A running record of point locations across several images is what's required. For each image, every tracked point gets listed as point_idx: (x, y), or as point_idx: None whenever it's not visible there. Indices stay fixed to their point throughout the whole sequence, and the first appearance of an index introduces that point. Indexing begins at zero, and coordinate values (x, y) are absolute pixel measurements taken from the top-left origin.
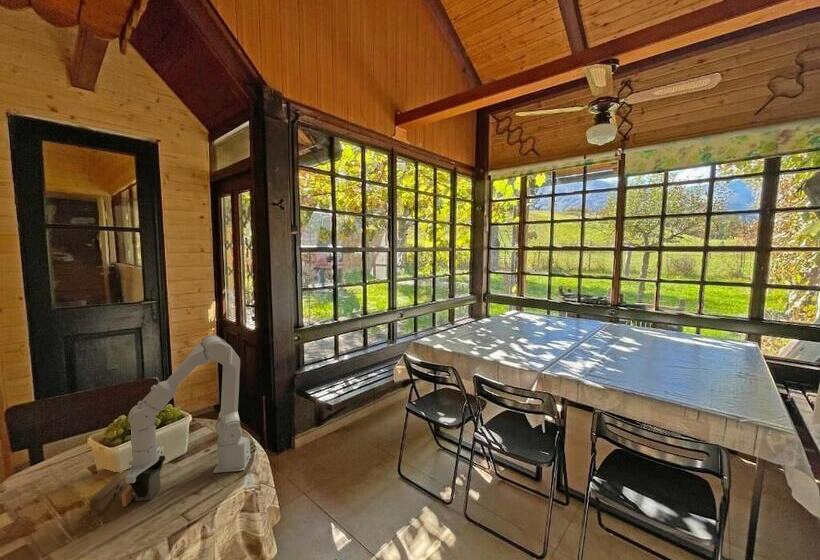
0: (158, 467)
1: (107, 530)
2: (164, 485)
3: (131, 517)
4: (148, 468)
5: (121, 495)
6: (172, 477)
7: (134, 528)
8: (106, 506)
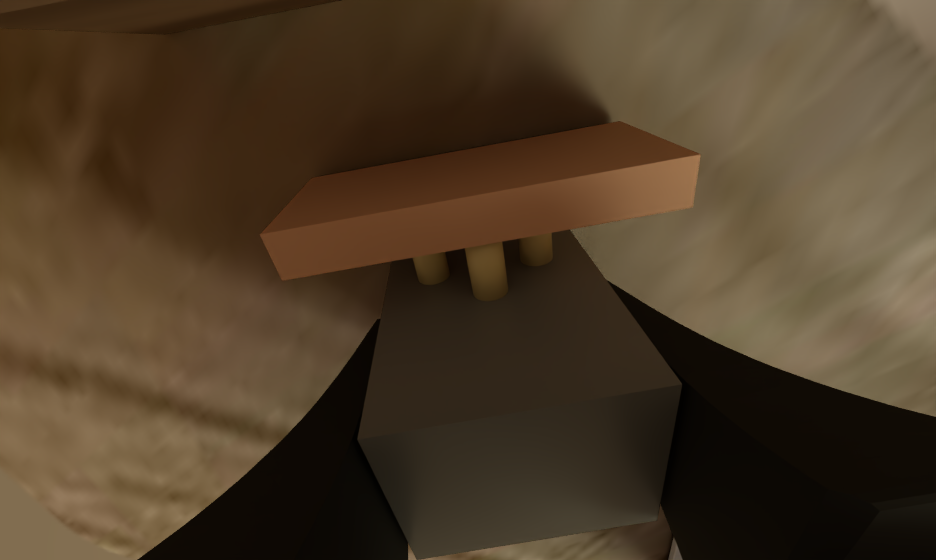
0: (675, 535)
1: (56, 276)
2: None
3: (242, 341)
4: (695, 438)
5: (261, 234)
6: (708, 316)
7: (175, 423)
8: (191, 22)
